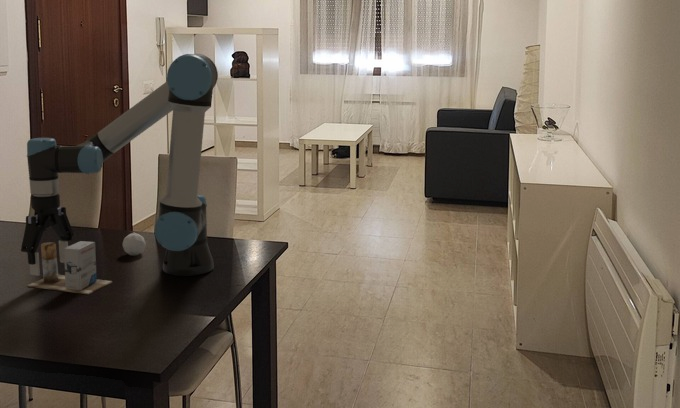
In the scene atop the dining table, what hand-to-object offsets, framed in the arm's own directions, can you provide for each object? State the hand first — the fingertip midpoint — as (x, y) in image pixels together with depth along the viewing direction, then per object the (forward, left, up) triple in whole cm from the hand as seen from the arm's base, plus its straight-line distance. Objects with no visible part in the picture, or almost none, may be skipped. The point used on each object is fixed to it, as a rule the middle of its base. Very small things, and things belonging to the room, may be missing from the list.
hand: (50, 268), depth 209 cm
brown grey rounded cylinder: (0, 0, -4) cm, 4 cm away
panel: (-6, 0, -4) cm, 7 cm away
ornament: (-6, -33, -4) cm, 34 cm away
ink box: (-10, 0, -4) cm, 11 cm away
